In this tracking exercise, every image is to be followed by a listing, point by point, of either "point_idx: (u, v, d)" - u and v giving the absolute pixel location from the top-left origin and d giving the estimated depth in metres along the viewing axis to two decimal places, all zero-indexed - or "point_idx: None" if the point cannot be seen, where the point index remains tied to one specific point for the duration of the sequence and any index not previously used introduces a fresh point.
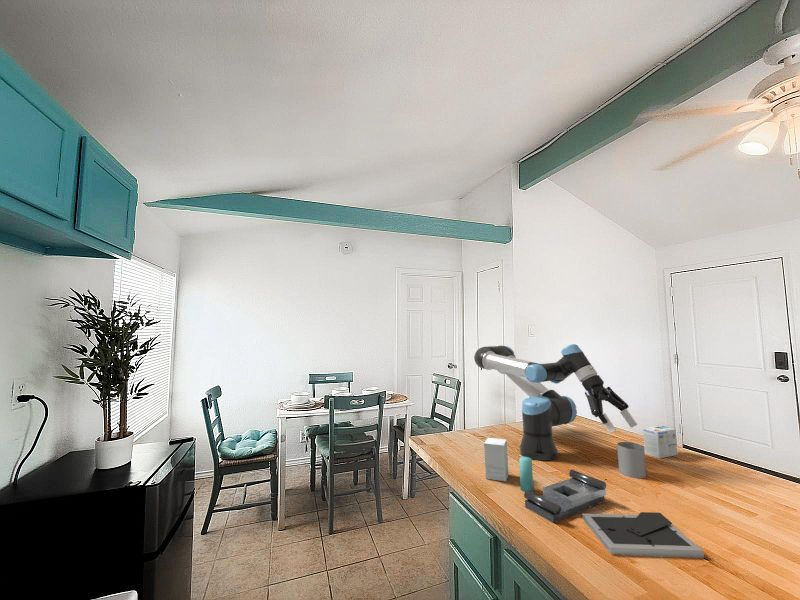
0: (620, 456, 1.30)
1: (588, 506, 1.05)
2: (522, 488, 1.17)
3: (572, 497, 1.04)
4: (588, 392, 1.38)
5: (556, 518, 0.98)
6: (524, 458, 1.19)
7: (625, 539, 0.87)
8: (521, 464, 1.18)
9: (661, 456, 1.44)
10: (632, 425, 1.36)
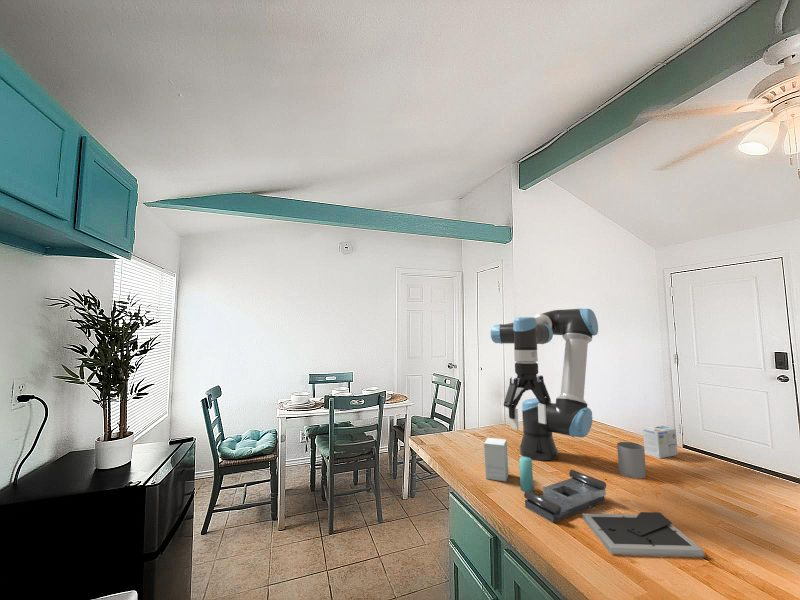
0: (620, 456, 1.30)
1: (588, 506, 1.05)
2: (522, 488, 1.17)
3: (572, 497, 1.04)
4: (513, 380, 1.17)
5: (556, 518, 0.98)
6: (524, 458, 1.19)
7: (626, 539, 0.87)
8: (521, 464, 1.18)
9: (661, 456, 1.44)
10: (541, 421, 1.23)
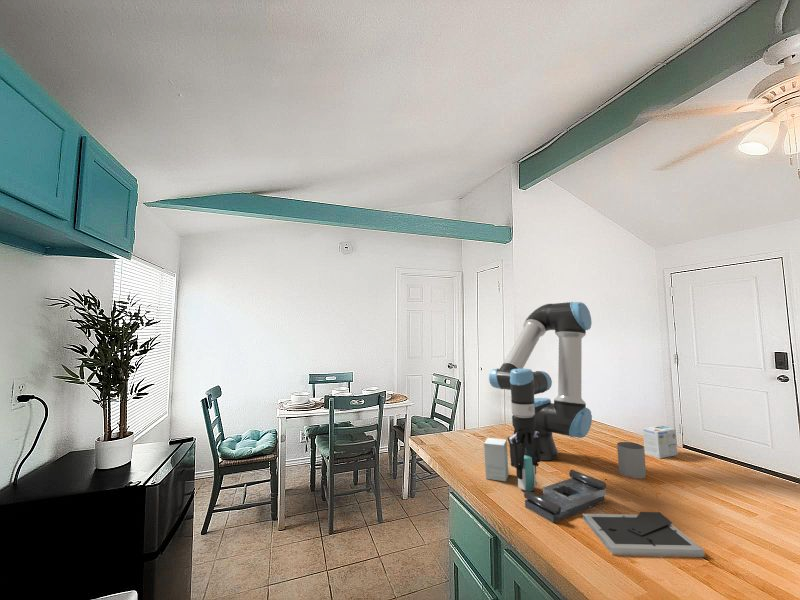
0: (620, 456, 1.30)
1: (588, 506, 1.05)
2: None
3: (572, 497, 1.04)
4: (511, 441, 1.16)
5: (556, 518, 0.98)
6: (524, 457, 1.19)
7: (627, 539, 0.87)
8: None
9: (661, 456, 1.44)
10: None
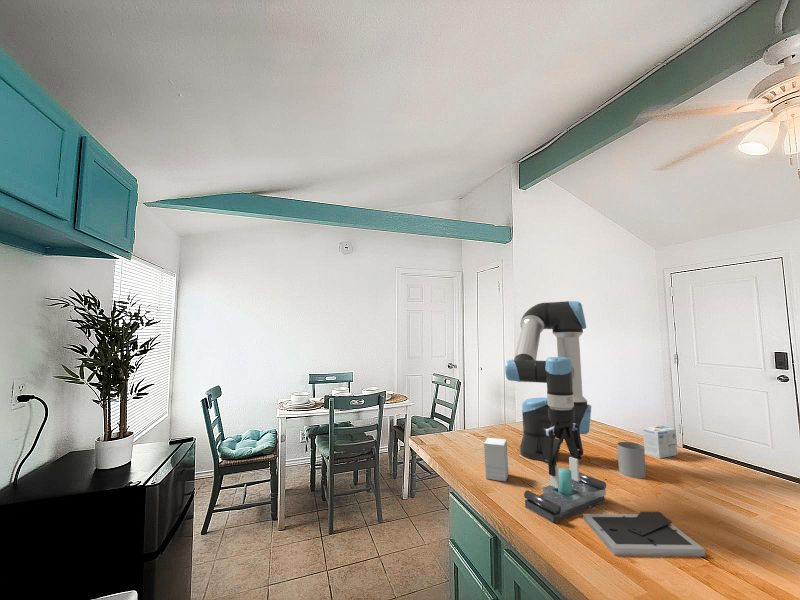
0: (620, 456, 1.30)
1: (588, 506, 1.05)
2: None
3: (572, 497, 1.04)
4: (548, 433, 1.06)
5: (556, 518, 0.98)
6: (563, 470, 1.09)
7: (628, 539, 0.87)
8: (560, 477, 1.07)
9: (661, 456, 1.44)
10: (573, 478, 1.10)
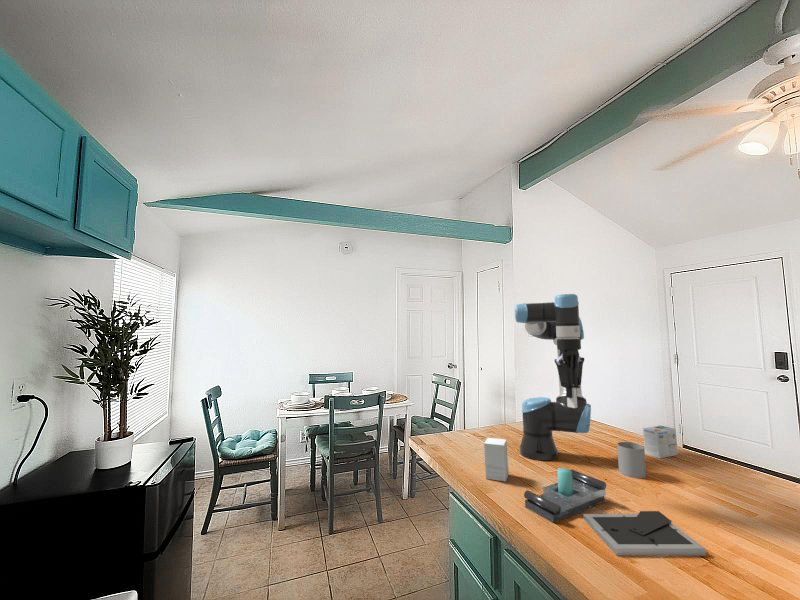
0: (620, 456, 1.30)
1: (588, 506, 1.05)
2: None
3: (572, 497, 1.04)
4: (559, 363, 1.20)
5: (556, 518, 0.98)
6: (563, 470, 1.09)
7: (629, 539, 0.87)
8: (560, 477, 1.07)
9: (661, 456, 1.44)
10: None
